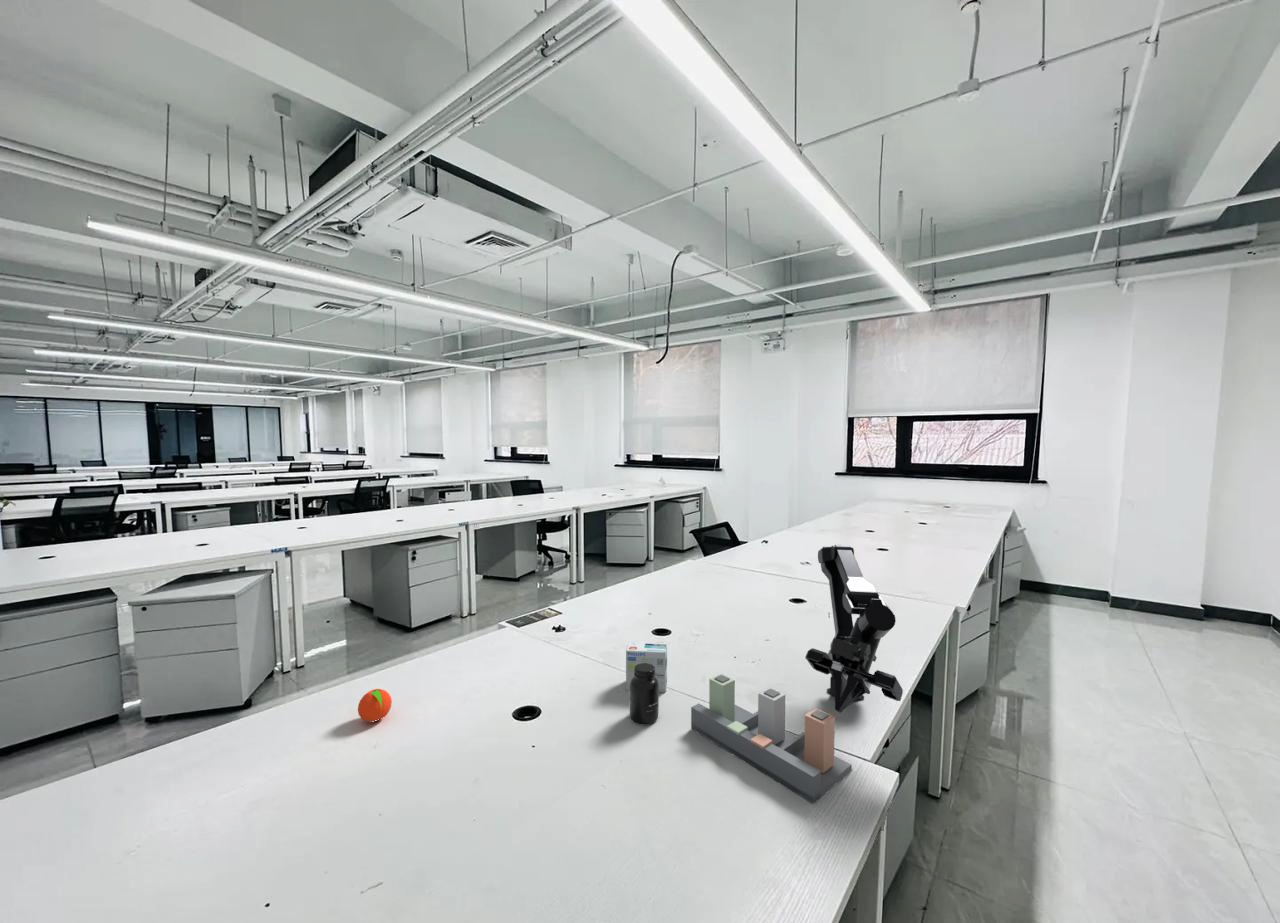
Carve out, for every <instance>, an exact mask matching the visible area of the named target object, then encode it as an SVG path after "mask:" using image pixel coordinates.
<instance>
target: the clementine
mask: <svg viewBox="0 0 1280 923" xmlns="http://www.w3.org/2000/svg"><path fill="white" fill-rule="evenodd" d="M392 700H393V699H392V697H391V695H390V694H389V692H388V691H387V690H384V689H383V688H376V689H374V688H373V689H371V690H369V691H368V692H367V693H365V694H364V695H363V696H362V697H361V698H360V700H359V703H358V705H357V713H358V716H359V718H360V719H361V720H363V721H364V720H365V721H364V722H366V721H375V720H378V719H381V718H382V719H383V717H384V718H385V717H386V716H387V715H388V714H389V713H390V711H391V708H392ZM382 719H381V720H382Z"/></svg>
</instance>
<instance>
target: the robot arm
mask: <svg viewBox="0 0 1280 923" xmlns="http://www.w3.org/2000/svg"><path fill="white" fill-rule="evenodd" d="M817 561H818V563H819V564H820V568H821V572H822V573H823V574H824V576H825V577H826V578H827V580H828V582H829V584H828V585H829V591H830V592H829V594H830V599H831V601H830V602H831V609H832V616H833V624H834V632H835V633H834V637H833V638H832V641H831V642H830V646H829V647H830V649H829V650H828V653H827V652H825V651H823V650H819V649H816V648H813V647H812V648H810V649H808V650H807V652H806V655H805V657H804V659H806V661H807V662H808V664H809V665H810V666H811V668H812V669H813V670H815V671H817V672H819V673H821V674H824V675H829V674H830V675H831V676H830V683H829V684H830V685H829V688H826V692H827V693H829V694H830V695H831V696H833V697H834V710H835V711H836V712H838V713H842V712H843V711H844V710H845V709H846V708H847V707H848V706H849V705H851V704H852V703H853V702H855V701H860V700H863V699H865V696H864V695H865V694H867V695H869V694H870V693H871V691H870V689H871V685H872V686H874V687H878V688H881V691H882V694H883V696H884V697H886V698H889V699H892V700H894V701H896V702H901V699H902V696H903V694H904V693H903V692H904V690H903V688H902V686H901V684H900V682H899V680H898V679H897V677H896V675H893V674H890V673H888V672H884V671H881V670H879V669H877V670H876V671H874V673H873V674H872V673H871V672H870V670H871V667H872V664H873V662H876V660H877V656H876V653H877V651H878V647H879V646H880V645H879V644H880V642H881V639H882V638H884V637H885V636H886V635H887V634H888V633H889V632H890V631H891V630H892V629H893V628H894V626H895V625H896V621H897V620H896V615H895V613H894V612H893V611H892V609H891V608H889V606H888V605H887V604H886V602H885V601H884V600H883V598H882V596H881V595H880V594H879V593H878V591H877V590H876V587H874V585H873V584H872V583H871V582H868V581H867V580H865V577H864V576H863V572H862V571H861V568H860V566H859V564H858V561H857V559H856V556H855V549H854V547H853V546H851V545H848V544H834V545H831V546H822V548H820V549H819V550H818V551H817ZM852 615H859V616H858V617H857V618H856V619H855V622H854V623H853V616H852Z"/></svg>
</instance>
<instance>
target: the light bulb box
mask: <svg viewBox="0 0 1280 923" xmlns="http://www.w3.org/2000/svg"><path fill="white" fill-rule="evenodd" d="M667 645H668V643H667V642H665V641H664V642H662V641H661V642H659V641H657V642H652V641H631V640H629V641H628V645H627V647H626V650H625V684H626V685H625V690H626V691H630V681H631V679H632V678H633V677H634V668H635V666H636V665H637V664H640V663H648V664H652V665H653V666H654V667H655V677H656V678H657V680H658V682H659V693H666V692H667V686H668V646H667Z"/></svg>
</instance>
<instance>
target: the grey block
mask: <svg viewBox="0 0 1280 923" xmlns="http://www.w3.org/2000/svg"><path fill="white" fill-rule="evenodd" d="M757 695H758V696H757V697H758V699H757V700H758V702H757V703H758V704H757V711H758V734H761V735H763V736H765V737H767V738H769V739H771V740H772V744H773V745H776V744H777V743H779V742H780V741H782V740H783V739H785V731H786V693H783V692H780V691H779V690H776V689H775V688H772V687H771V686H768V688H766V689H763V690H762V691H760V692H758V694H757Z"/></svg>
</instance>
